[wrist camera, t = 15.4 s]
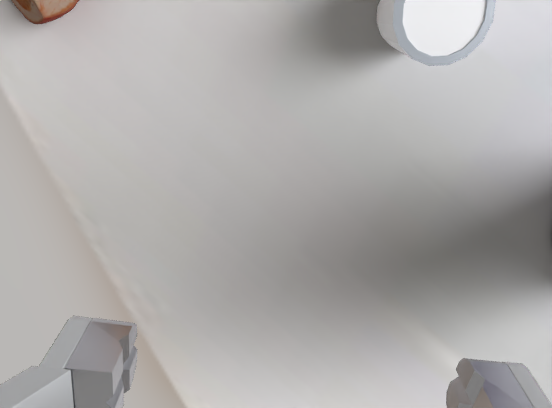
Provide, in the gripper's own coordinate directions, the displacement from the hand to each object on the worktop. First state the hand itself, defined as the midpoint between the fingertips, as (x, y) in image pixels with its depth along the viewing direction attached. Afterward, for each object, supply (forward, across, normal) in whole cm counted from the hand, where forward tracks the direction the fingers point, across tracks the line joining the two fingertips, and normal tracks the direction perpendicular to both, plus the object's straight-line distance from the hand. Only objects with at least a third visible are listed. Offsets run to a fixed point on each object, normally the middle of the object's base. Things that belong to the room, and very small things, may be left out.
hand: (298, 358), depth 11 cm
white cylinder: (+31, -9, -8) cm, 33 cm away
